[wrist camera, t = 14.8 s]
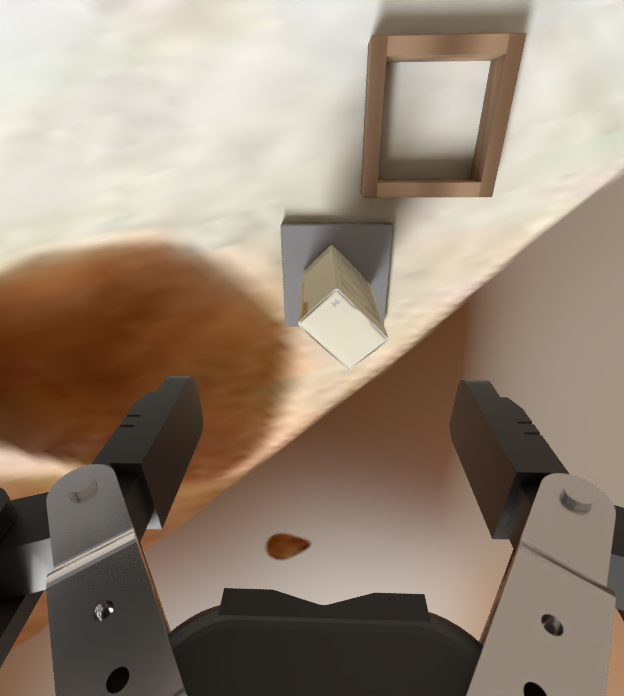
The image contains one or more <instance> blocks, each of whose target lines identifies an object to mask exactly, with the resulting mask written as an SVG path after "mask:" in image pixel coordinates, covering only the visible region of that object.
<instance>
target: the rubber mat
mask: <svg viewBox="0 0 624 696" xmlns="http://www.w3.org/2000/svg"><path fill="white" fill-rule="evenodd" d="M392 232H393V225H392V223H282V224H281V246H282V267H283V288H284V309H285V326H297V327H300V326H299V325H298V319H299V309H300V298H301V289H302V278H303V271H304V270H305V269H306V268H307V267H308V266H309V265H310V264H311V263H312V262H313V261H314V260H315V259H316V258H317V257H318V256H319V255H320V254H322V253H323V252H324V251H325V250H326V249H327V248H328V247H329V246H330V245H333V246H334V247H335V248H336V249H337V250H338V251H339V252H340V253H341V254H342V255H343V256H344V257H345V258H346V259H347V260H348V261H349V262H350V263H351V264H352V265H353V266H354V267H355V268H356V269H357V270H358V271H359V272H360V273H361V274H362V275H363V277H364V278H365V279H366V280H367V281H368V282H369V283H370V285H371V288H372V291H373V294H374V297H375V300H376V303H377V306H378V309H379V312H380V315H381V318H382V321H383V324H384V318H385V307H386V296H387V286H388V275H389V264H390V253H391V243H392Z"/></svg>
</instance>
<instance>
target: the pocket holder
mask: <svg viewBox="0 0 624 696" xmlns="http://www.w3.org/2000/svg"><path fill="white" fill-rule="evenodd" d="M525 37H526V33H502V34H449V35H396V36H372V37H371V39H370V42H369V44H368V59H367V79H366V99H365V118H364V138H363V158H362V178H361V195H362V196H363V198H390V197H492V195H493V190H494V185H495V181H496V176H497V171H498V166H499V162H500V157H501V152H502V147H503V142H504V138H505V133H506V128H507V123H508V119H509V114H510V109H511V104H512V99H513V95H514V90H515V85H516V80H517V76H518V71H519V66H520V61H521V57H522V52H523V47H524V42H525ZM431 61H491V64H490V69H489V75H488V81H487V86H486V92H485V97H484V103H483V109H482V114H481V120H480V125H479V131H478V137H477V142H476V148H475V153H474V159H473V165H472V170H471V176H470V179H402V180H378V172H379V158H380V144H381V129H382V115H383V101H384V87H385V72H386V62H431Z"/></svg>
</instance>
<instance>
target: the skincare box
mask: <svg viewBox="0 0 624 696" xmlns="http://www.w3.org/2000/svg"><path fill="white" fill-rule="evenodd" d="M298 325H299V326H300V327H301V328H302V329H303V330H304V331H305V332H306V333H307V334H308V335H309V336H310V337H311V338H312V339H313V340H315V341H316V342H317V343H318V344H319V345H320V346H321V347H322V348H324V349H325V350H326V351H327V352H328V353H329V354H330V355H332V356H333V357H334V358H335V359H336V360H338V361H339V362H340V363H341V364H342V365H344V366H345V367H346V368H347V369H349V370H350V369H351V368H353V367H354V366H355V365H357V364H358V363H360V362H361V361H363V360H364V359H365V358H367V357H368V356H369V355H371V354H372V353H373V352H375V351H376V350H378V349H379V348H380V347H381V346H383V345H384V344H385V343H387V342H388V336H387V333H386V330H385V327H384V324H383V321H382V318H381V315H380V312H379V309H378V306H377V303H376V300H375V297H374V294H373V291H372V288H371V285H370V283H369V282H368V281H367V280H366V279H365V278H364V277H363V275H362V274H361V273H360V272H359V271H358V270H357V269H356V268H355V267H354V266H353V265H352V264H351V263H350V262H349V261H348V260H347V259H346V258H345V257H344V256H343V255H342V254H341V253H340V252H339V251H338V250H337V249H336V248H335V247H334V246H333V245H330V246H329V247H328V248H327V249H326V250H325V251H324V252H323V253H322V254H320V255H319V256H318V257H317V258H316V259H315V260H314V261H313V262H312V263H311V264H310V265H309V266H308V267H307V268H306V269H305V270H304V271H303V278H302V289H301V298H300V309H299V319H298Z"/></svg>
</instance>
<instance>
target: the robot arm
mask: <svg viewBox="0 0 624 696" xmlns="http://www.w3.org/2000/svg"><path fill="white" fill-rule="evenodd" d="M202 429H203V414H202V409H201V404H200V398H199V393H198V388H197V383H196V379H195V378H194V377H193V376H168V377H166V379H165V380H164V382H163V383H162V385H161V386H160V388H159V389H158V391H157V392H149V393H148V394H146V395H145V396H144V397H142V398H141V399H140V400H138V401H137V402H135V404H134V405H133V407H132V408H131V409H130V411H129V412H128V414H127V417H125V418H124V419H123V421H122V422H121V423H120V426H119V428H117V429H116V430H115V432H114V433H113V435H112V436H111V437H110V439H109V440H108V442H107V443H106V444H105V446H104V447H103V449H102V450H101V451H100V453H99V454H98V456H97V457H96V458H95V460H94V461H93V463H92V464H91V465H87V466H83V467H80V468H77V469H75V470H73V471H71V472H69V473H68V474H66V475H64V476H63V477H62V478H60V479H59V480H58V481H57V482H56V483H55V484H54V485H53V486H52V488H51V489H50V491H49V492H46V493H42V494H37V495H33V496H29V497H24V498H20V499H16V500H10V498H9V496H8V495H7V493H6V491H5V490H4V489H2V488H0V667H1V666H2V664H3V662H4V660H5V659H6V657H7V655H8V653H9V651H10V650H11V648H12V646H13V644H14V643H15V641H16V639H17V637H18V635H19V634H20V632H21V630H22V628H23V627H24V625H25V623H26V621H27V619H28V618H29V616H30V614H31V612H32V611H33V609H34V607H35V605H36V604H37V602H38V600H39V598H40V596H41V595H42V593H43V591H44V590H45V589H46V594H47V605H48V616H49V627H50V638H51V648H52V659H53V671H54V681H55V692H56V696H606V687H607V677H608V668H609V659H610V650H611V640H612V631H613V622H614V613H615V608H617V610H618V612H619V613H620V615H621V617H622V619H623V621H624V508H622V507H619V506H615V505H613V503H612V502H611V500H610V499H609V497H607V495H606V494H605V493H604V492H602V491H601V490H600V489H599V488H597V487H596V486H595V485H593V484H591V483H590V482H588V481H586V480H584V479H582V478H579V477H577V476H573V475H570V474H569V473H568V471H567V470H566V469H565V467H564V466H563V464H562V463H561V462H560V460H559V459H558V457H557V456H556V455H555V453H554V452H553V450H552V449H551V448H550V447H549V445H548V443H547V442H546V441H545V439H544V438H543V436H541V435H540V432H539V431H538V430H537V428H536V427H535V425H534V424H532V421H531V420H530V418H529V417H528V416H527V414H526V413H525V411H524V410H523V409H522V408H521V407H519V406H518V405H517V404H515V403H514V402H513V401H511V400H510V399H509V398H507V397H506V398H505V397H500V396H499V395H498V393H497V392H496V390H495V389H494V387H493V386H492V384H491V383H490V382H489V381H487V380H461V381H460V383H459V385H458V388H457V393H456V398H455V403H454V407H453V411H452V416H451V421H450V433H451V439H452V442H453V444H454V447H455V449H456V452H457V454H458V456H459V459H460V461H461V464H462V466H463V469H464V471H465V473H466V476H467V478H468V481H469V483H470V486H471V488H472V490H473V493H474V495H475V498H476V500H477V503H478V505H479V507H480V510H481V512H482V515H483V517H484V520H485V522H486V524H487V527H488V529H489V532H490V534H491V536H492V539H510V542H511V544H512V546H513V548H514V549H513V551H512V554H511V556H510V559H509V562H508V565H507V567H506V570H505V573H504V576H503V578H502V581H501V584H500V586H499V589H498V592H497V594H496V597H495V600H494V603H493V605H492V608H491V611H490V614H489V616H488V619H487V622H486V624H485V627H484V629H483V632H482V634H481V637H480V639H479V641H477V640H476V639H475V638H474V637H473V636H472V635H470V634H469V633H468V632H466V631H465V630H463V629H462V628H461V627H459V626H457V625H456V624H454V623H452V622H450V621H449V620H447V619H445V618H443V617H441V616H438V615H436V614H433V613H430V612H428V609H427V604H426V599H425V595H424V594H396V593H372V594H368V595H364V596H360V597H357V598H352V599H349V600H345V601H341V602H337V603H333V604H329V605H319V604H316V603H312V602H309V601H306V600H303V599H300V598H297V597H294V596H291V595H288V594H285V593H281V592H278V591H275V590H264V589H233V588H224V592H223V596H222V601H221V605H219V606H215V607H212V608H210V609H207V610H205V611H202V612H200V613H198V614H196V615H194V616H193V617H191V618H189V619H188V620H186V621H185V622H183V623H182V624H180V625H179V626H177V627H176V628H175V629H174V630H172V631H171V630H170V627H169V624H168V621H167V619H166V615H165V613H164V610H163V607H162V604H161V601H160V598H159V595H158V592H157V589H156V586H155V583H154V580H153V577H152V574H151V571H150V568H149V565H148V562H147V559H146V556H145V553H144V550H143V547H142V544H141V542H140V541H141V539H142V537H143V535H144V533H145V530H146V529H162V528H163V526H164V523H165V521H166V518H167V516H168V514H169V511H170V509H171V506H172V504H173V502H174V499H175V497H176V494H177V492H178V490H179V487H180V485H181V482H182V480H183V478H184V475H185V473H186V470H187V468H188V466H189V463H190V461H191V459H192V456H193V454H194V451H195V449H196V447H197V444H198V442H199V439H200V437H201V434H202Z"/></svg>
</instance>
